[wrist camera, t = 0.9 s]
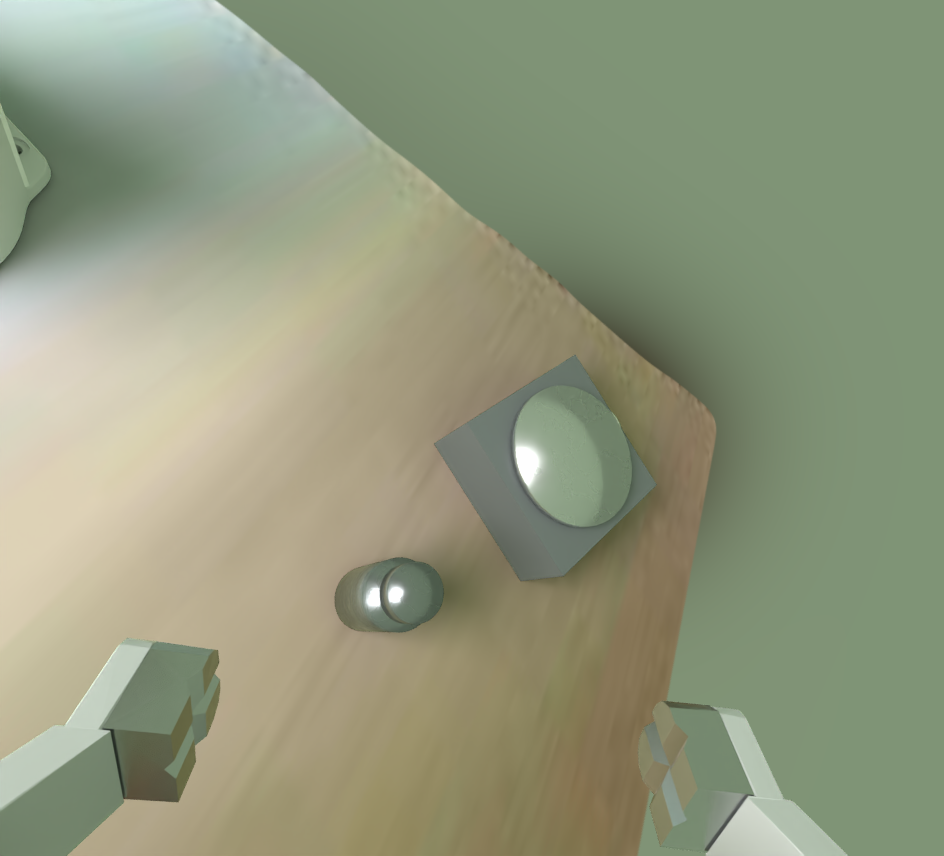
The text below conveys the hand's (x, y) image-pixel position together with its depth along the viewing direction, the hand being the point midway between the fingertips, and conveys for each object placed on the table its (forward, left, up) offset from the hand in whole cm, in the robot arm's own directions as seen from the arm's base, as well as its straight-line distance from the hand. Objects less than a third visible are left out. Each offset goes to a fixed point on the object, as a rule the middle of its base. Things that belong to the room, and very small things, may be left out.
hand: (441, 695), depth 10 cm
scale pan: (+3, +28, -26) cm, 38 cm away
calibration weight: (+3, +9, -32) cm, 33 cm away
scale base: (+3, +28, -32) cm, 43 cm away
